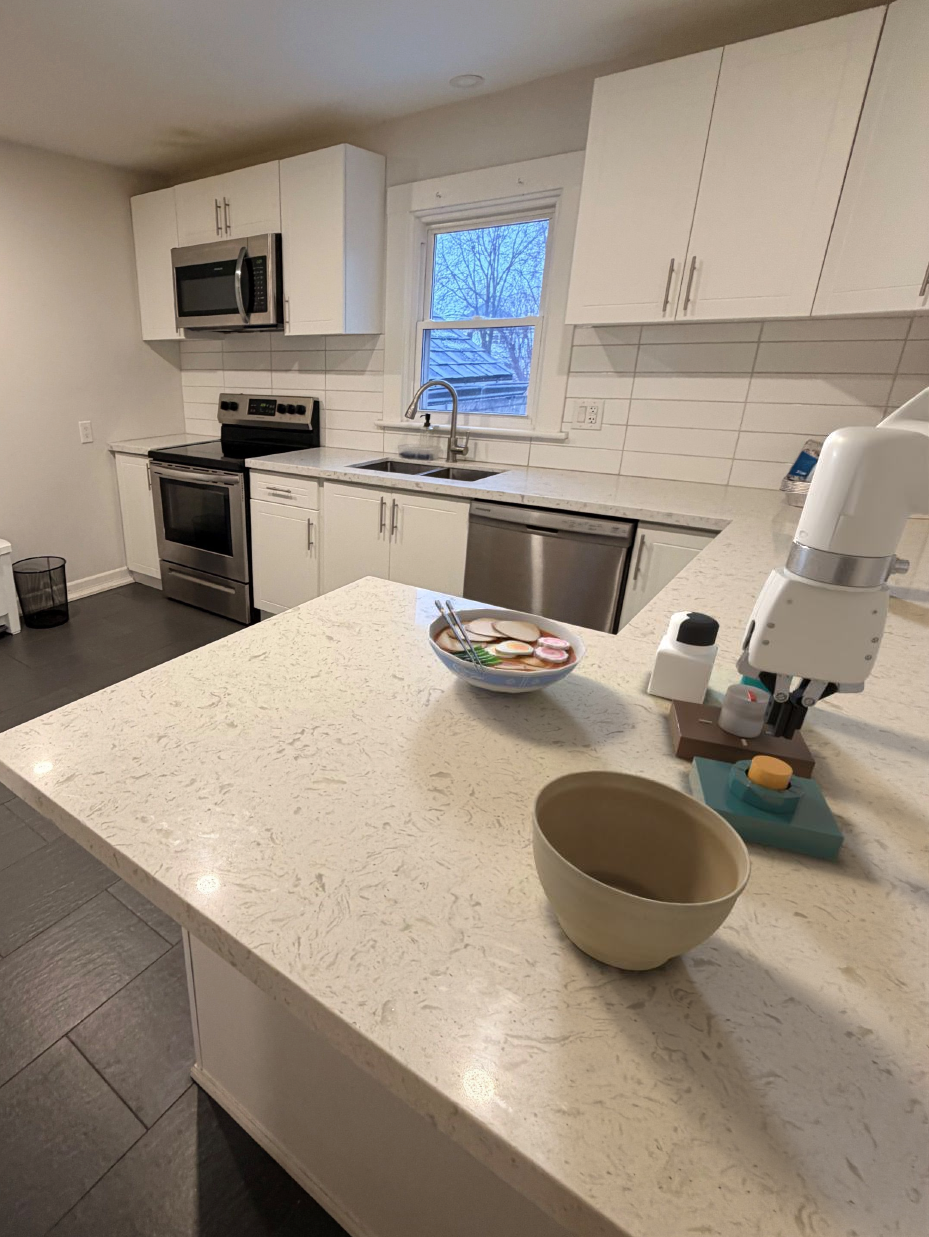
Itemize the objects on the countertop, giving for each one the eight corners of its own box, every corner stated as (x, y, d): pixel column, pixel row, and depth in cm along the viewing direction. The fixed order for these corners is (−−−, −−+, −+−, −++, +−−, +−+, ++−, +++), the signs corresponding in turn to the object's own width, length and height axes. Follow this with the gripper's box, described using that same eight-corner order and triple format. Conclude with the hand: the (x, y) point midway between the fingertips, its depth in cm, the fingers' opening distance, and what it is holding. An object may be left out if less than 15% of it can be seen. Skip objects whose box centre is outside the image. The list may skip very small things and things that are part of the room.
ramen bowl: (607, 725, 89) (619, 671, 86) (438, 724, 88) (444, 670, 85) (545, 646, 112) (552, 601, 109) (411, 645, 112) (414, 600, 108)
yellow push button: (782, 775, 71) (788, 759, 70) (791, 795, 68) (797, 778, 67) (744, 767, 72) (749, 752, 72) (750, 786, 69) (756, 770, 68)
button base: (807, 801, 74) (821, 764, 72) (835, 861, 66) (851, 821, 64) (688, 776, 78) (698, 741, 76) (699, 830, 70) (711, 791, 68)
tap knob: (714, 715, 86) (725, 679, 83) (755, 722, 84) (767, 685, 82) (720, 733, 82) (732, 695, 80) (764, 741, 80) (776, 703, 78)
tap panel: (786, 739, 86) (794, 718, 85) (808, 783, 77) (816, 761, 76) (667, 717, 91) (672, 697, 89) (675, 756, 82) (681, 735, 81)
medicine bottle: (706, 688, 99) (727, 614, 94) (701, 708, 93) (723, 630, 88) (654, 675, 102) (671, 603, 98) (646, 693, 97) (664, 618, 92)
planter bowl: (598, 839, 68) (618, 751, 64) (757, 958, 55) (795, 857, 51) (478, 895, 61) (492, 800, 57) (629, 1046, 48) (661, 937, 44)
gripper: (918, 563, 62) (852, 729, 70) (737, 544, 67) (693, 700, 75) (954, 589, 56) (878, 768, 63) (751, 565, 61) (702, 734, 68)
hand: (778, 731), depth 69 cm, fingers closed
